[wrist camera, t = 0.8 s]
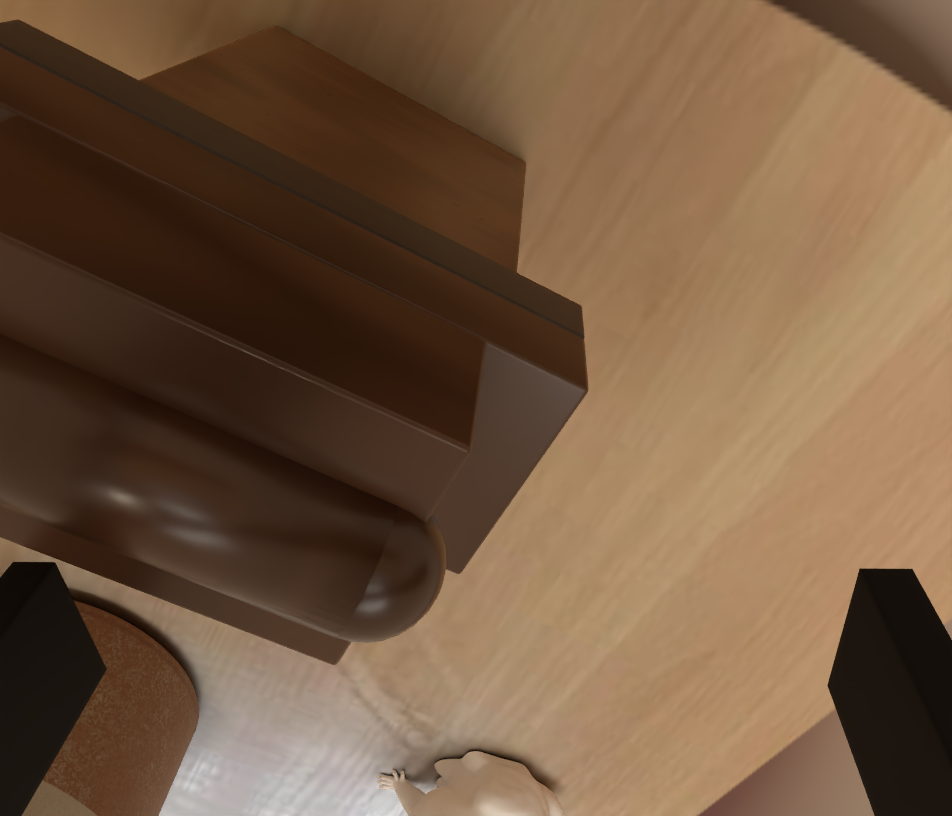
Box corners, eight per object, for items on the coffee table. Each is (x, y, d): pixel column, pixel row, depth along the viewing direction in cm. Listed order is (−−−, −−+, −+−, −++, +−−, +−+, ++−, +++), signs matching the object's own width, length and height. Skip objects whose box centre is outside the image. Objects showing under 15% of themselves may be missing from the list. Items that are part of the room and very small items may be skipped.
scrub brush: (-17, 254, 17) (-384, 474, 10) (18, 18, 14) (-448, 107, 8) (473, 474, 19) (434, 773, 12) (582, 305, 16) (606, 571, 10)
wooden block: (240, 129, 29) (29, 276, 17) (275, 23, 27) (62, 108, 15) (478, 252, 31) (434, 462, 19) (527, 162, 29) (513, 334, 17)
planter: (-112, 607, 45) (-339, 845, 34) (115, 560, 42) (-51, 808, 30) (45, 766, 53) (-96, 1003, 42) (248, 738, 49) (156, 989, 38)
